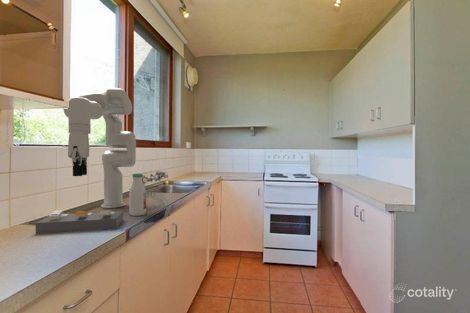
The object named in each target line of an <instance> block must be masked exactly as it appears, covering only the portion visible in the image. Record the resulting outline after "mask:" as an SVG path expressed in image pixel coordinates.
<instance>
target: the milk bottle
mask: <svg viewBox="0 0 470 313" xmlns="http://www.w3.org/2000/svg"><path fill="white" fill-rule="evenodd" d="M143 176H144V175H143V173H132V182H131V185H130V187H129V196H128V198H129V199H128V201H129V203H128V204H129V205H128V207H129V208H128V209H129V211H128V212H129V214H128V215H130V216H132V217H133V216H134V217H138V216H144V215H146V214H147V191H146V186H145V185H144V182H143V178H144V177H143Z"/></svg>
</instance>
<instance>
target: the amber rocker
mask: <svg viewBox="0 0 470 313" xmlns="http://www.w3.org/2000/svg"><path fill="white" fill-rule="evenodd" d="M88 213H89V211H86V210H77V211H75V216H76V215H88Z"/></svg>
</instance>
